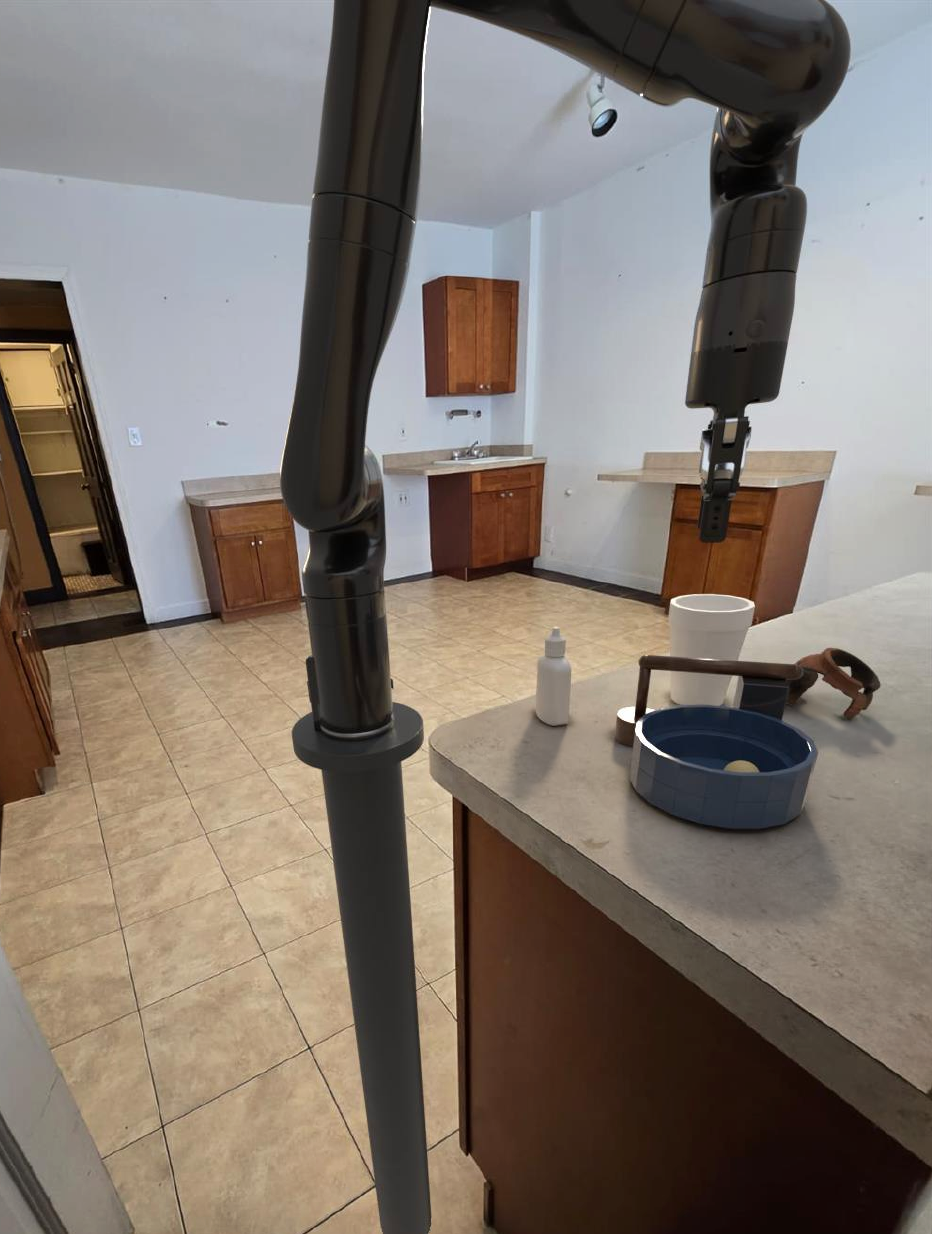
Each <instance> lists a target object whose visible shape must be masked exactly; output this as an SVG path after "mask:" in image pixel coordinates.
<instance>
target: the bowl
mask: <svg viewBox="0 0 932 1234" xmlns="http://www.w3.org/2000/svg"><path fill="white" fill-rule="evenodd" d="M654 710H655V711H652V712H650V713H647V714H645V715H644V716H643V717H642V718H641V719H639V720H638V721H637V723H636V728H635V735H634V744H633V747H632V753H631V754H632V755H631V763H630V771H629V780H630V782H631V784H632V786H633V788H634V790H635V792H637V794H639V795H640V796H641V797H642V798H643V799H644V800H646V801H647V802H648V803H649V804H651V805H653V806H654V807H657V808H659V809H660V810H663V811H664V812H666V813H668V814H669V815H672V816H675V817H678V818H681V819H684V820H687V821H691V822H693V823H697V824H700V825H704V826H705V825H706V826H712V827H718V828H724V829H731V830H761V829H766V828H771V827H777V826H781V825H785V824H786V823H788V822H790V821H792V820H793V819H795V818H797V817H799V816H800V815H801V813H802V811H803V809H804V807H805V805H806V802H807V797H808V794H809V790H810V786H811V783H812V780H813V775H814V771H815V767H816V763H817V761H818V760H817V759H818V757H819V751H818V748H817V745H816V744H815V740H814V739H812V738H811V737H810V736H809V735H807V733H805V732H804V731H802V730H801V729H800V728H798V727H796V726H794V725H792V724H790V723H788V722H786V721H784V720H783V719H782V720H780V719H777V718H774V717H770V716H767V715H764V714H761V713H758V712H753V711H748V710H743V709H738V708H733V706H725V705H720V706H714V705H680V704H677V705H673V706H667V707H661V708H658V709H654ZM739 760H743V761H747V762H750V763H752V764H753V765H755V766H756V767H757V769H758V770H759V772H733V771H725V770H724V768H725V767H726V766H727V765H728V764H730V763H731V762H734V761H739Z"/></svg>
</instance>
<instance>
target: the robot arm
mask: <svg viewBox="0 0 932 1234" xmlns="http://www.w3.org/2000/svg"><path fill="white" fill-rule="evenodd" d="M432 8H435V9H439V10H443V11H447V12H450V13H454V14H458V15H462V16H465V17H468V18H472V19H474V20H478V21H480V22H484V23H486V24H489V25H491V26H492V25H493V26H495V27H497V28H501V29H503V30H506V31H509V32H512V33H515V34H517V35H520V36H522V37H525V38H527V39H529V40H531V41H534V42H537V43H539V44H541V45H543V46H545V47H548V48H550V49H552V50H554V51H557V52H558V53H561V54H562V55H564V56H566V57H568V58H570V59H572V60H574V61H576V62H577V63H579V64H582V65H583V66H585V67H587V68H588V69H590V70H592V71H594V72H595V73H597V74H599V75H601V76H602V77H604V78H606V79H608V80H610V81H611V82H613V83H614V84H616V85H618V86H620V87H622V88H624V89H625V90H628V91H629V92H631V93H633V94H634V95H636V96H637V97H641V99H643V100H645V101H646V102H649V103H651V104H653V105H656V106H659V107H663V108H671V107H675V106H677V105H679V104H681V102H683V101H685V100H687V99H693V100H696V101H700V102H702V103H705V104H708V105H711V106H714V107H716V108H717V110H716V113H715V116H714V117H715V118H714V122H713V128H712V133H711V141H710V148H709V149H710V151H709V211H710V231H709V236H708V240H707V246H706V254H705V261H704V270H703V276H702V277H703V278H702V285H701V289H702V290H701V294H700V298H699V303H698V307H697V310H696V315H695V320H694V326H693V334H692V341H691V349H690V359H689V367H688V373H687V374H688V376H687V383H686V391H685V392H686V393H685V398H684V399H685V400H684V405H685V406H686V408H688V409H692V410H693V409H708V408H709V409H711V410H712V411H713V416H712V419H710V420H709V423H708V425H707V429H702V430H701V434H700V442H699V444H700V445H699V450H700V452H701V453H700V460H699V466H698V467H699V468H698V473H699V476H700V480H701V481H700V484H699V488H700V489H701V490H700V491H701V498H700V503H699V512H698V518H697V528H698V529H699V535H698V540H699V541H700V542H701V543H703V544H705V543H706V544H707V543H709V544H712V543H714V544H715V543H723V542H724V541H725V540H726V539H727V533H728V527H729V520H730V514H731V508H732V502H733V500H734V498H735V496H736V495H737V494H738V493H737V492H738V490H739V489H740V486H741V482H740V477H741V476H742V475H743V472H744V468H745V465H746V456H747V449H748V447H749V446H750V445H749V444H750V441H751V439H752V429H753V428H752V426H750V423H751V421H750V420H749V416H748V415H746V416H745V413H746V408H747V407H748V406H749V405H756V404H764V403H771V402H773V401H775V400H776V399H778V397H779V394H780V391H781V385H782V380H783V379H782V378H783V373H784V368H785V363H786V357H787V350H788V345H789V340H790V333H791V329H792V322H793V318H794V311H795V304H796V302H795V301H796V282H797V273H798V270H799V262H800V257H801V252H802V248H803V247H802V246H803V240H804V235H805V229H806V224H807V217H808V199H807V194H806V193H805V192H804V190H803V189H802V188H800V187H798V186H797V173H798V160H799V153H800V152H799V151H800V147H801V142H802V137H803V134H805V132H806V131H807V130H808V129H809V128H810V127H811V126H812V125H813V124H814V123H815V122H816V121H817V120H818V119H819V118H821V116H822V115H823V114H824V113H825V112H826V110H827V109H828V108H829V107H830V105H831V104H832V102H833V101H834V99H835V98H836V96H837V94H838V93H839V91H840V89H841V88H842V86H843V83H844V81H845V79H846V77H847V73H848V70H849V66H850V62H851V61H850V60H851V51H852V49H851V48H852V47H851V37H850V33H849V29H848V27H847V25H846V22H845V21H844V19H843V18H842V15H841V14H840V13H839V12H838V11H837V10H836V8H835V7H834V6H833V5H832V4H830V3H829V2H828V1H827V0H333V12H332V26H331V34H330V35H331V37H330V45H329V54H328V61H327V67H326V76H325V82H324V92H323V100H322V109H321V119H320V128H319V138H318V148H317V157H316V164H315V166H316V167H315V172H314V173H315V174H314V180H313V187H312V195H311V196H312V197H311V198H312V199H311V205H310V217H309V229H308V238H307V239H308V240H307V251H306V268H305V282H304V283H305V284H304V292H303V305H302V312H301V313H302V314H301V327H300V339H299V340H300V341H299V355H298V366H297V375H296V381H295V389H294V394H293V400H292V405H291V411H290V415H289V421H288V426H287V430H286V431H287V432H286V437H285V441H284V448H283V451H282V457H281V464H280V469H279V470H280V473H279V487H280V488H279V489H280V493H281V498H282V502H283V504H284V506H285V509H286V511H287V512H288V514H289V516H290V517H291V518H292V519H293V521H294V522H295V523H297V524H298V525H299V526H300V527H301V528H303V529H305V530H307V531H308V543H309V544H308V551H307V556H306V559H305V563H304V564H303V567H302V570H301V580H302V590H303V596H304V604H305V605H304V606H305V612H306V619H307V628H308V635H309V643H310V651H311V655H308V656H307V657H306V659H305V669H306V677H307V681H306V685H307V693H308V699H309V703H310V706H311V712H312V715H313V723H314V730H315V731H319V732H322V734H324V735H325V736H327V737H329V738H331V739H335V740H340V741H361V740H367V739H372V738H375V737H378V736H381V735H383V734H385V733H387V732H388V731H390V730H391V729H392V728H393V726H394V723H395V722H394V713H393V704H392V702H393V692H392V691H393V690H394V679H393V678H392V677H391V664H390V663H391V662H390V650H389V635H388V622H387V621H388V620H387V608H386V594H385V593H386V591H385V577H384V575H385V573H384V572H385V565H386V559H387V532H386V531H387V528H386V527H387V526H386V505H385V488H384V480H383V475H382V474H383V473H382V470H381V466H380V463H379V461H378V458H377V457H376V456H375V454H374V453H373V451H372V450H371V449H370V447H369V446H367V445H366V437H367V428H368V427H367V426H368V417H369V416H368V415H369V407H370V401H371V396H372V395H371V394H372V389H373V385H374V381H375V379H376V374H377V371H378V368H379V365H380V362H381V360H382V357H383V355H384V352H385V349H386V347H387V344H388V342H389V340H390V337H391V335H392V331H393V328H394V326H395V323H396V320H397V318H398V315H399V311H400V308H401V305H402V302H403V298H404V295H405V291H406V286H407V282H408V277H409V272H410V264H411V258H412V253H413V246H414V242H415V241H414V240H415V235H416V234H415V233H416V228H417V222H418V216H419V215H418V214H419V207H420V195H421V193H420V192H421V179H422V159H423V136H424V135H423V133H424V131H423V129H424V126H423V125H424V77H425V76H424V74H425V73H424V72H425V58H426V57H425V55H426V45H427V35H428V30H429V29H428V28H429V21H430V16H431V9H432Z"/></svg>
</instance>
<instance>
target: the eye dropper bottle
mask: <svg viewBox="0 0 932 1234" xmlns="http://www.w3.org/2000/svg"><path fill="white" fill-rule="evenodd" d="M566 642H567V639H566V637H564V636H562V635H561V633H560V627H559V626H553V627H552V631H551V634H550V635H549V636H547V637H546V638H544V654H542V655H540V656H539V657H538V659H537V666H536V689H535V715H536V716H537V718H538V719H539V720H540V721H541V722H543V723H545V724H546V725H549V726H554V727H555V726H564V725H567V724H568V723H569V720H570V719H569V718H570V705H571V704H570V703H571V701H570V700H571V687H572V666H571V665H572V664H571V663H570V661H569V659H568V658H567V657H566V656H565V655H566Z"/></svg>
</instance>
